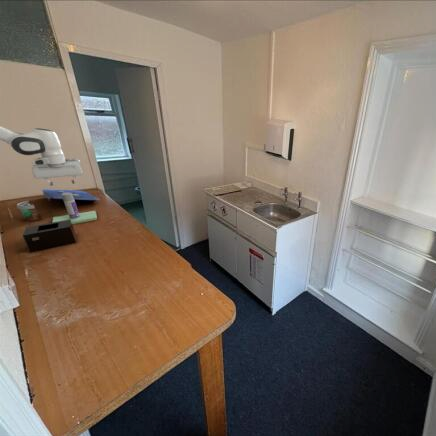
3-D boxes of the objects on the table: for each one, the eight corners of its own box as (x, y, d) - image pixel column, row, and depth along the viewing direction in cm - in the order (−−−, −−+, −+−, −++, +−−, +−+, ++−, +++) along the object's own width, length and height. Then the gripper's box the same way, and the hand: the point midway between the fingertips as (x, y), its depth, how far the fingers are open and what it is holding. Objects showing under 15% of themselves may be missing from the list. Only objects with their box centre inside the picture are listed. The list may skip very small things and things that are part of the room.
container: (77, 215, 144) (69, 192, 138) (81, 216, 142) (73, 193, 137) (68, 217, 140) (59, 194, 134) (72, 219, 139) (63, 195, 133)
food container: (20, 218, 140) (13, 202, 136) (35, 215, 145) (28, 200, 141) (25, 223, 134) (18, 207, 130) (40, 220, 139) (33, 204, 135)
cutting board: (52, 227, 131) (51, 225, 131) (54, 219, 141) (53, 217, 140) (97, 219, 143) (96, 217, 143) (96, 212, 153) (95, 210, 152)
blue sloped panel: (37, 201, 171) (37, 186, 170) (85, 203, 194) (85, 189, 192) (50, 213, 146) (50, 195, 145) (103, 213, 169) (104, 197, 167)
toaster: (30, 253, 107) (22, 236, 104) (33, 243, 116) (26, 226, 112) (76, 243, 117) (70, 227, 113) (76, 234, 125) (70, 219, 122)
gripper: (79, 158, 136) (86, 181, 142) (29, 160, 124) (38, 185, 129) (79, 159, 132) (86, 183, 137) (27, 162, 119) (37, 187, 125)
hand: (63, 184), depth 133 cm, fingers open, 8 cm apart
